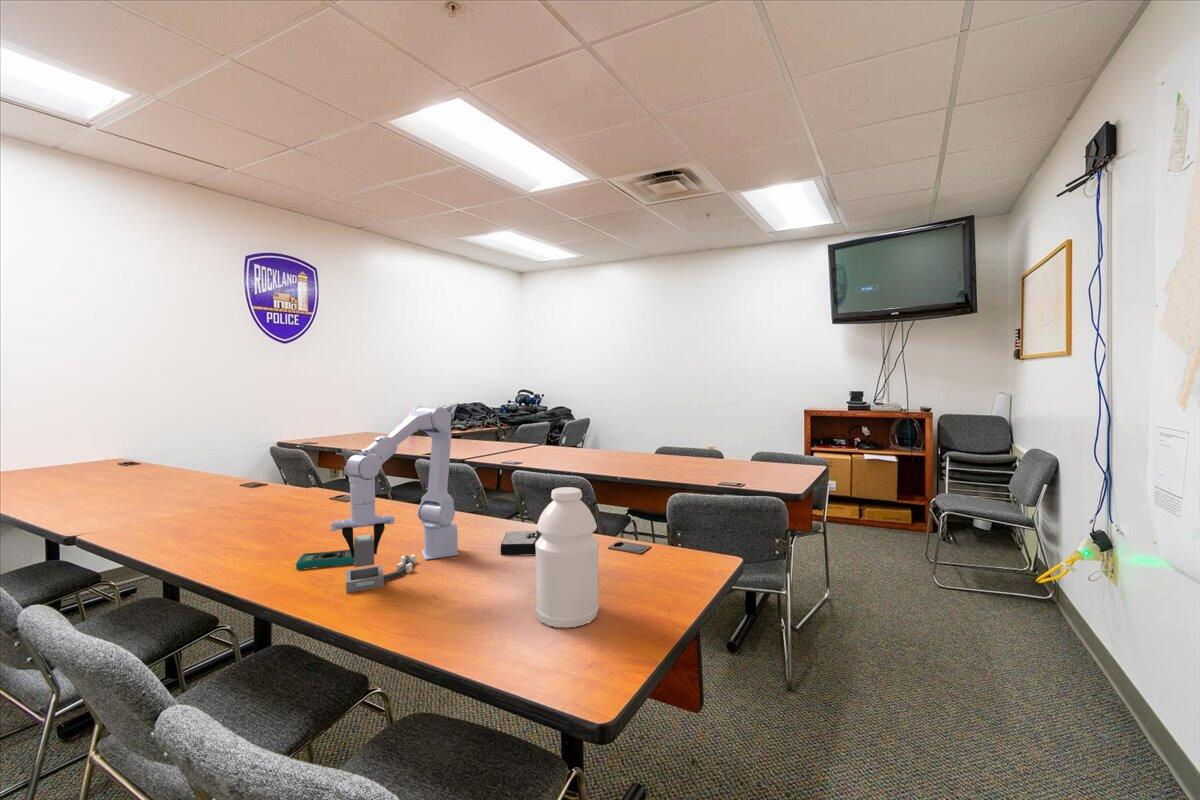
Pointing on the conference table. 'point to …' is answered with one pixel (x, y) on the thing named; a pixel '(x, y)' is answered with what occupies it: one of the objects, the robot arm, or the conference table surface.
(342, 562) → the digital multimeter
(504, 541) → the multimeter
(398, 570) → the routed cable
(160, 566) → the conference table surface
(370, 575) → the frame
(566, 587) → the bottle
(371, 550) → the connector block
